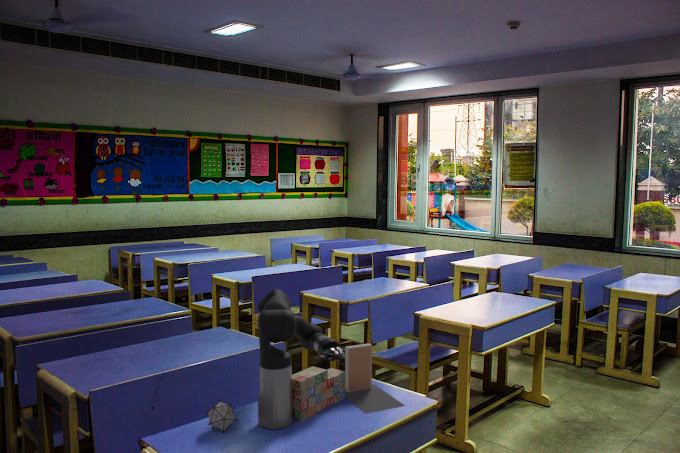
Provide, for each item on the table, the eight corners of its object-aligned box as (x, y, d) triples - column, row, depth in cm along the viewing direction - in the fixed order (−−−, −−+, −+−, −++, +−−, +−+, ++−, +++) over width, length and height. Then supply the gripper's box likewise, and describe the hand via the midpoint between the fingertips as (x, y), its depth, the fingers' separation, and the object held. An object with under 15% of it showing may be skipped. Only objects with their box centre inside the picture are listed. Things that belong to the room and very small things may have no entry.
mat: (336, 391, 183) (336, 390, 183) (373, 385, 189) (373, 383, 189) (365, 415, 164) (365, 413, 164) (405, 407, 170) (405, 405, 170)
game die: (218, 440, 156) (214, 405, 161) (244, 431, 155) (240, 396, 160) (202, 436, 149) (198, 400, 154) (229, 427, 147) (225, 391, 152)
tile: (345, 390, 183) (345, 346, 181) (369, 386, 186) (369, 343, 185) (348, 392, 181) (347, 348, 180) (372, 388, 184) (372, 344, 183)
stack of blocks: (331, 395, 180) (331, 358, 180) (346, 399, 177) (346, 362, 176) (286, 416, 164) (285, 376, 163) (301, 421, 160) (301, 380, 159)
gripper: (310, 339, 205) (328, 352, 189) (342, 335, 210) (362, 347, 195) (310, 359, 205) (328, 373, 190) (342, 354, 211) (362, 368, 195)
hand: (345, 360), depth 192 cm, fingers closed
